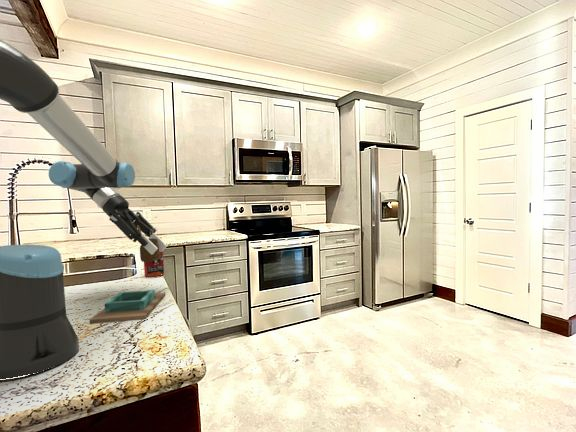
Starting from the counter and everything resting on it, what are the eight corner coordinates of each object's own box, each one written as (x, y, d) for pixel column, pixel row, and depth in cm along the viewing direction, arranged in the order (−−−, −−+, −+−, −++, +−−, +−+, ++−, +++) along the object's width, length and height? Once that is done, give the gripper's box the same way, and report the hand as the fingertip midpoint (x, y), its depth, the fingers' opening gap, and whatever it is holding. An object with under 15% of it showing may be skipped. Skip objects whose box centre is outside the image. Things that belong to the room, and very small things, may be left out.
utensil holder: (162, 259, 103) (160, 224, 102) (142, 263, 99) (140, 226, 98) (156, 257, 108) (154, 223, 107) (137, 260, 103) (134, 225, 103)
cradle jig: (145, 318, 83) (144, 306, 83) (89, 323, 81) (88, 310, 81) (165, 295, 103) (164, 285, 102) (120, 298, 101) (120, 288, 101)
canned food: (147, 279, 125) (145, 252, 125) (142, 275, 132) (141, 250, 131) (166, 275, 130) (165, 250, 129) (161, 272, 136) (160, 247, 136)
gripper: (123, 209, 114) (166, 253, 112) (84, 211, 96) (135, 263, 94) (135, 194, 113) (179, 238, 111) (98, 193, 95) (150, 246, 93)
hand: (159, 250), depth 103 cm, fingers closed on utensil holder, 5 cm apart
